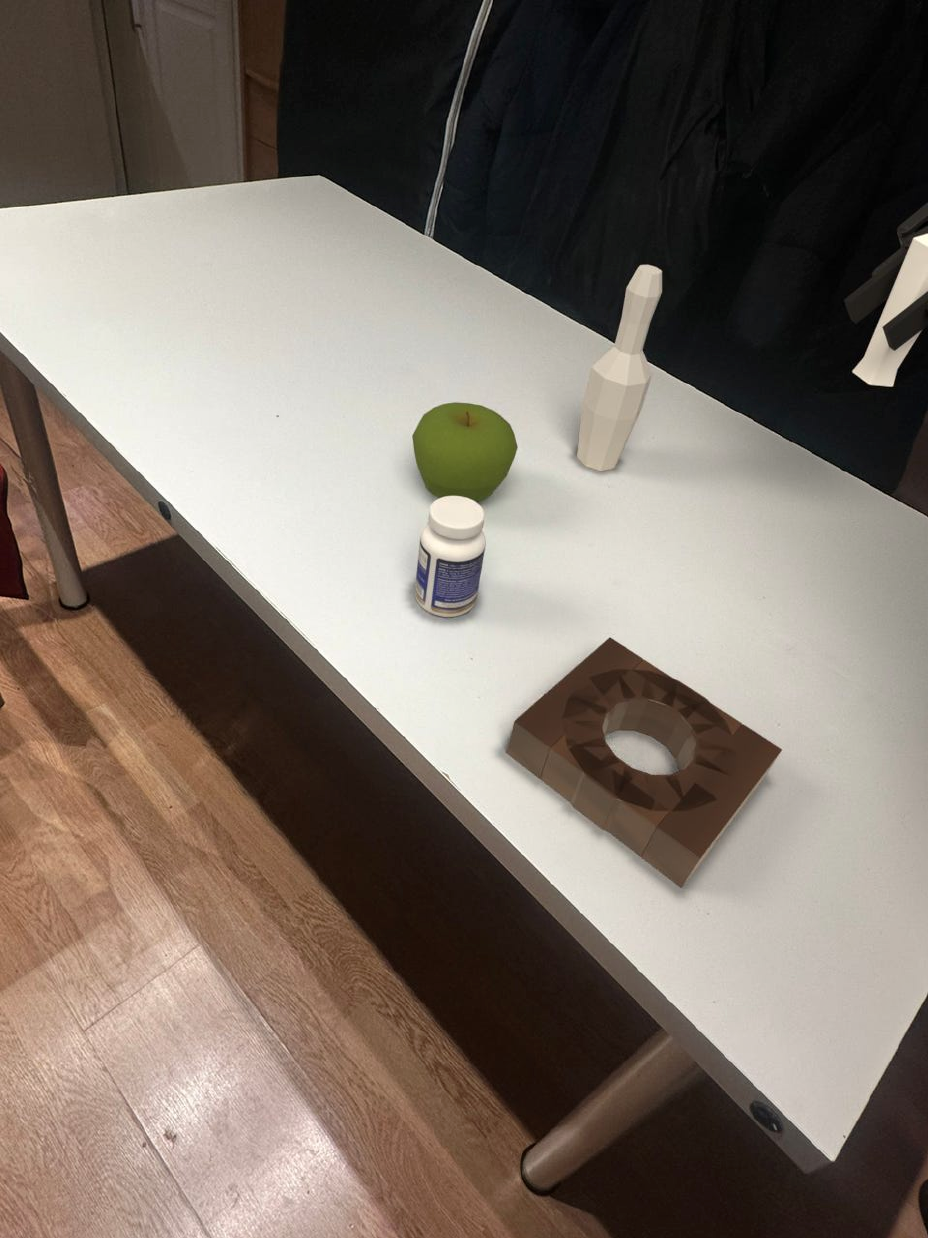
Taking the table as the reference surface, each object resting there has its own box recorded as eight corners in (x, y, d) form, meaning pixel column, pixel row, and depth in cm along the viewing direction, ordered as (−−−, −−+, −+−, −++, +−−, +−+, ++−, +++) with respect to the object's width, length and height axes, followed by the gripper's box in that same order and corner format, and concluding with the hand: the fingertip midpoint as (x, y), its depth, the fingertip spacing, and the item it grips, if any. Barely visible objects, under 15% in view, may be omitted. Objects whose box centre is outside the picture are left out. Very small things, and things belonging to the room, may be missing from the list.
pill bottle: (487, 594, 77) (503, 508, 70) (455, 628, 73) (469, 541, 66) (434, 569, 78) (445, 482, 71) (401, 601, 75) (410, 513, 68)
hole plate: (763, 778, 65) (783, 748, 62) (680, 890, 57) (698, 861, 54) (599, 667, 72) (610, 635, 69) (504, 753, 64) (512, 721, 61)
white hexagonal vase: (883, 394, 75) (975, 224, 65) (842, 372, 78) (924, 204, 67) (908, 382, 78) (1000, 216, 67) (867, 361, 80) (950, 197, 69)
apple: (440, 536, 82) (452, 451, 75) (388, 479, 88) (394, 395, 81) (526, 508, 87) (544, 426, 80) (471, 456, 93) (484, 376, 86)
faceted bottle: (559, 455, 95) (605, 263, 80) (592, 438, 99) (642, 251, 84) (602, 481, 92) (657, 288, 77) (635, 463, 96) (694, 274, 81)
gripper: (1219, 197, 63) (945, 401, 70) (1041, 129, 75) (820, 309, 81) (1226, 116, 58) (929, 344, 64) (1034, 56, 70) (798, 255, 76)
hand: (869, 324), depth 73 cm, fingers closed on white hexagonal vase, 5 cm apart
